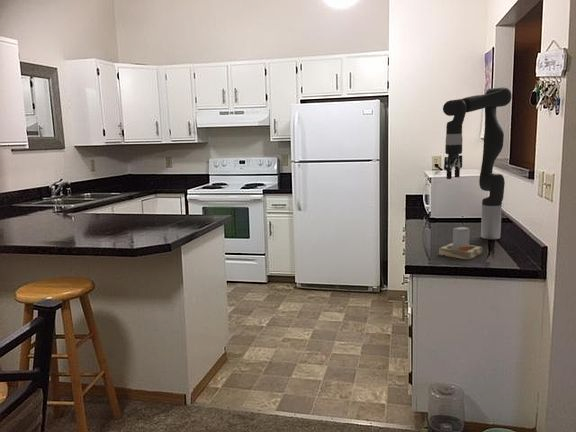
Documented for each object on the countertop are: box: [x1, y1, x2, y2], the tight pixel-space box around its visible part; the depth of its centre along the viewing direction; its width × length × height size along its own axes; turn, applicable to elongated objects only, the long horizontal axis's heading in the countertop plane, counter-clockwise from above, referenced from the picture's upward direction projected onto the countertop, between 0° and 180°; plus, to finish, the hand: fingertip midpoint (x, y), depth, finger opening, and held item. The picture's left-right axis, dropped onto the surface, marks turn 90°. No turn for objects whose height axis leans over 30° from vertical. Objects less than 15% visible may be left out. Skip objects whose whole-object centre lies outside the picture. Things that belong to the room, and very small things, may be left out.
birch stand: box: [438, 242, 483, 260], centre depth 222 cm, size 14×14×3 cm
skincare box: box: [452, 226, 471, 251], centre depth 222 cm, size 6×4×12 cm
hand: (453, 178), depth 232 cm, fingers open, 8 cm apart
